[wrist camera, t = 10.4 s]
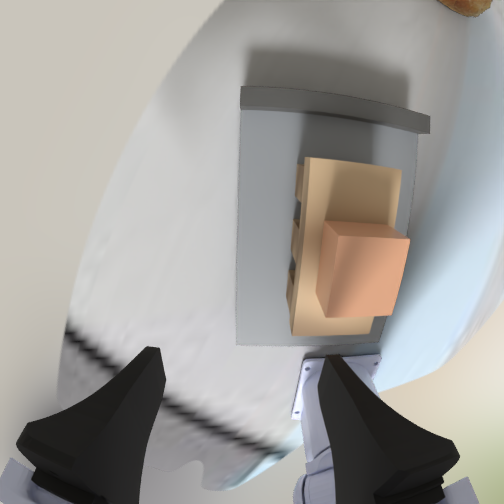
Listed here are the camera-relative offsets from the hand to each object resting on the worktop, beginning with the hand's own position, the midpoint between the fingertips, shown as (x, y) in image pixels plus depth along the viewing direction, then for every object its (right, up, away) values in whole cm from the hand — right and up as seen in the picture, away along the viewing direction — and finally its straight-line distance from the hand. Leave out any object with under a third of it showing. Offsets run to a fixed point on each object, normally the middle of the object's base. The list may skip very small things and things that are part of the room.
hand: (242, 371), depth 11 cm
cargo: (+6, +5, +3) cm, 8 cm away
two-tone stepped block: (+5, +6, +7) cm, 11 cm away
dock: (+5, +7, +9) cm, 12 cm away
